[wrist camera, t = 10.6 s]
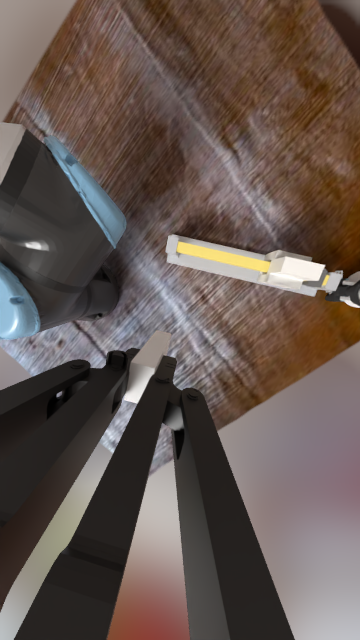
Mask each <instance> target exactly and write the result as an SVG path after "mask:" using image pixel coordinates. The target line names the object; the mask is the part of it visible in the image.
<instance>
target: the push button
mask: <svg viewBox="0 0 360 640" xmlns="http://www.w3.org/2000/svg"><path fill="white" fill-rule="evenodd" d="M337 272H338V274H339V273H340V272H341V275H342V274H343V271H335V273H337ZM342 278H343V276H342ZM342 278H341V280H340V282H339V285H338V287H337V289H336V291H329V290H328V291H327V290H326V292H328V296H326V298H325V300H327V301H333V302H334V301H345V300H350V301H351V302H352V303H354V304H357V305H358V306H360V280H359V281H357V282H349V279H342ZM348 296H350V297H348Z"/></svg>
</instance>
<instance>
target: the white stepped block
mask: <svg viewBox="0 0 360 640" xmlns="http://www.w3.org/2000/svg"><path fill="white" fill-rule="evenodd" d="M311 260H312V257H308V256H303V255H299V254H294V253H290V252H285V251H281V250H276V251H274V252H271V253H268V254H266V255H265V258H264V261H267V262H271V263H270V266H269V269H268V272H267V273H265V272H260V273H259V276H258V279H257V282H261V283H265V284H270V285H274V286H278V287H283V288H290V289H300V287H301V285H302V282H303V281H319V279H320V276H321V274H322V271H323V269H324V267H325V265H322V264H318V263H313V262H311Z"/></svg>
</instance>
